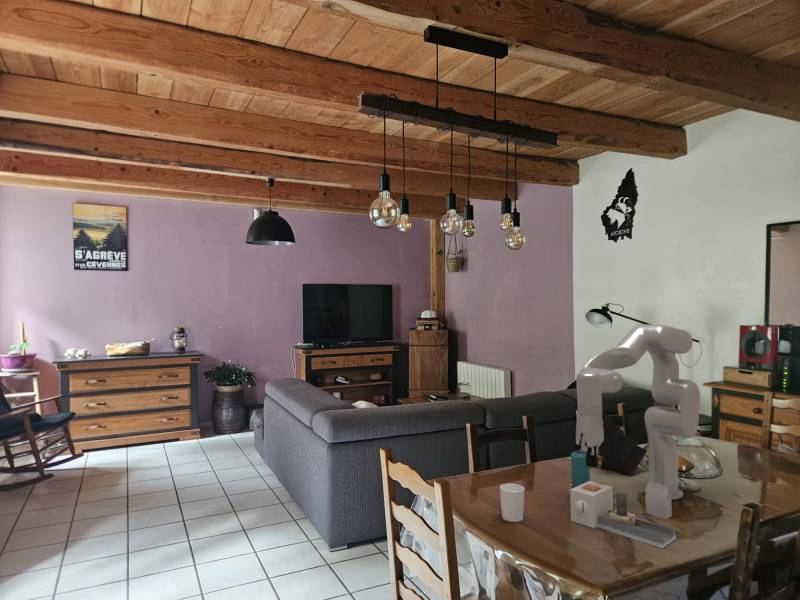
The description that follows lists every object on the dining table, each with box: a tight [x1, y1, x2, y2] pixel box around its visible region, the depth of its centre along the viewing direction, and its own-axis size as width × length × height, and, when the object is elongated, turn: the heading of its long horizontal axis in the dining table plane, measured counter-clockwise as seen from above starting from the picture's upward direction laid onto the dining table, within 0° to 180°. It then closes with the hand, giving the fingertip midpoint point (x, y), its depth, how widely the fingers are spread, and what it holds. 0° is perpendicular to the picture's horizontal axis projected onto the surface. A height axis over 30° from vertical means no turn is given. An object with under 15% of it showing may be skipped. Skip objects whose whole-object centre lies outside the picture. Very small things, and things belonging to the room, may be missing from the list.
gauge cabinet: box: [569, 480, 614, 529], centre depth 167 cm, size 12×8×10 cm, turn 131°
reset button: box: [582, 484, 600, 492], centre depth 168 cm, size 4×4×4 cm
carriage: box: [609, 492, 636, 526], centre depth 160 cm, size 5×6×9 cm
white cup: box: [499, 483, 525, 523], centre depth 170 cm, size 8×8×10 cm
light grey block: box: [644, 481, 673, 520], centre depth 170 cm, size 4×7×10 cm, turn 39°
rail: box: [596, 510, 677, 549], centre depth 157 cm, size 9×20×3 cm, turn 41°
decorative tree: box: [597, 411, 648, 477], centre depth 214 cm, size 15×15×35 cm
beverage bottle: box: [570, 441, 591, 489], centre depth 186 cm, size 6×7×20 cm
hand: (592, 466), depth 168 cm, fingers closed
